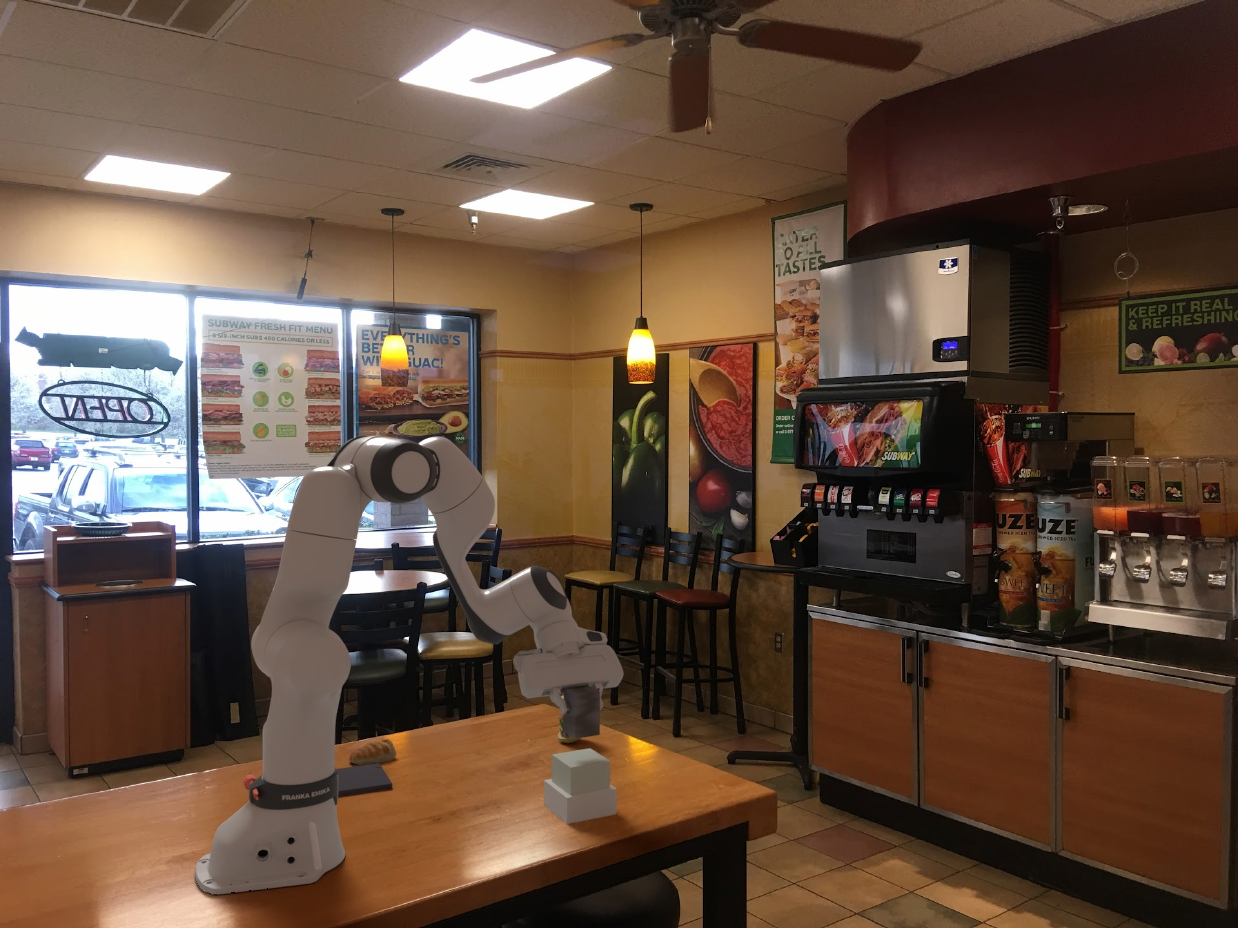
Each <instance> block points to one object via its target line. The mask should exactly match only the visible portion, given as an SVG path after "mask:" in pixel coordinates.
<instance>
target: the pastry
mask: <svg viewBox="0 0 1238 928" xmlns="http://www.w3.org/2000/svg"><path fill="white" fill-rule="evenodd" d="M396 757H397V750H396V747H395V746H394V744H393V741H392V740H391V739H389V738H385V739H384V738H382V739H381V740H374V741H370V742H368V743H366V744H364V745H363V746H362V747H359V748H357V749H355V750H353V752H351V753H350V755H349V759H348V761H349V762H350V763H352V764H355V765H357V766H362V765H370V764H380V763H383V762H389V761H392V760H394V759H395V758H396Z"/></svg>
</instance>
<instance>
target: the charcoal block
mask: <svg viewBox="0 0 1238 928" xmlns="http://www.w3.org/2000/svg"><path fill="white" fill-rule="evenodd" d="M563 695H564V700H565V702H566V701H570V706H571V707H572V711H571V712H570V714H564V715H563V731H564V732H565V733H567V734H568V735H570V736H571V737H573V738H575V739H577V738H580V739H582V738H588V737H595V736H596V737H597V736H600V733H601V731H600V729H601V724H600V723H601V717H600V716H601V709H600V691H598V690H596V689H594V688H592V687H590V686H588V685H586V686H579V687H571V688H564V694H563Z"/></svg>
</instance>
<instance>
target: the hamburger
mask: <svg viewBox="0 0 1238 928" xmlns="http://www.w3.org/2000/svg"><path fill="white" fill-rule="evenodd" d="M560 696H561V697H562V698H563V699H564V694H562V695H560ZM559 711H560V712H561V710H560V708H559ZM557 720H559V721H558V722H559V723H558V727H559V732H558V733H557V739H558V740H559V742H561V743H563V744H572V743H575V742H577V741H579V740H581V738H577V739H575V738H573V737H571V736H570V735H568V734H567V733H565V732H564V731H563V715H562V713H561V714H560V715H559V716H558V718H557Z"/></svg>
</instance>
